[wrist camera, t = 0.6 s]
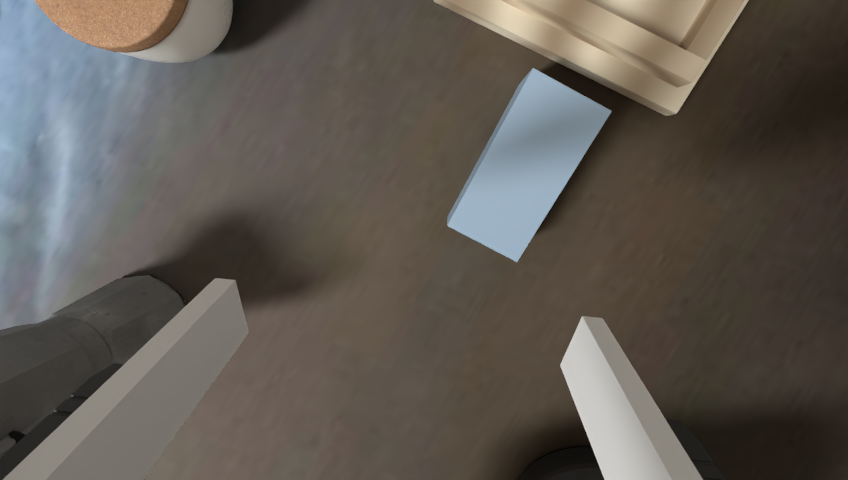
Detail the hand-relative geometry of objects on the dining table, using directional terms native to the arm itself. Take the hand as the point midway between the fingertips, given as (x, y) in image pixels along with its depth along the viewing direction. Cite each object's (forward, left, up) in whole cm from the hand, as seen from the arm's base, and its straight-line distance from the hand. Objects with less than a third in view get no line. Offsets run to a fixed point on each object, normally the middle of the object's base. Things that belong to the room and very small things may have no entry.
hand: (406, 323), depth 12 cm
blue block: (+3, -8, -17) cm, 19 cm away
